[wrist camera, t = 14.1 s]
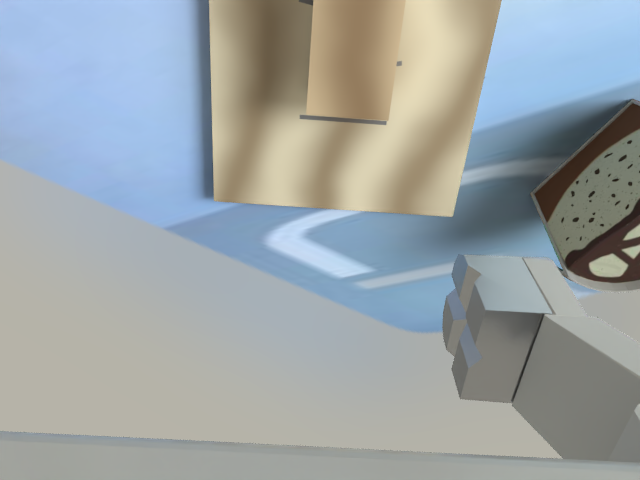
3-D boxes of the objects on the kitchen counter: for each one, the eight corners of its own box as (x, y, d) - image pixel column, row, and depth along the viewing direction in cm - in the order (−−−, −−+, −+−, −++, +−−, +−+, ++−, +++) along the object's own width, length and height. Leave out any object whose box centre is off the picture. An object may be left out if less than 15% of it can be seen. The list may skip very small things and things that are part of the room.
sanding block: (307, 91, 38) (306, 114, 35) (316, -41, 34) (315, -31, 30) (381, 97, 39) (388, 120, 35) (399, -34, 34) (409, -23, 31)
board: (216, 193, 44) (214, 201, 43) (210, -74, 34) (207, -73, 33) (449, 209, 45) (452, 216, 44) (506, -49, 35) (512, -47, 34)
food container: (566, 247, 47) (622, 329, 38) (515, 206, 45) (561, 283, 36) (702, 133, 41) (801, 198, 33) (651, 81, 39) (741, 136, 31)
